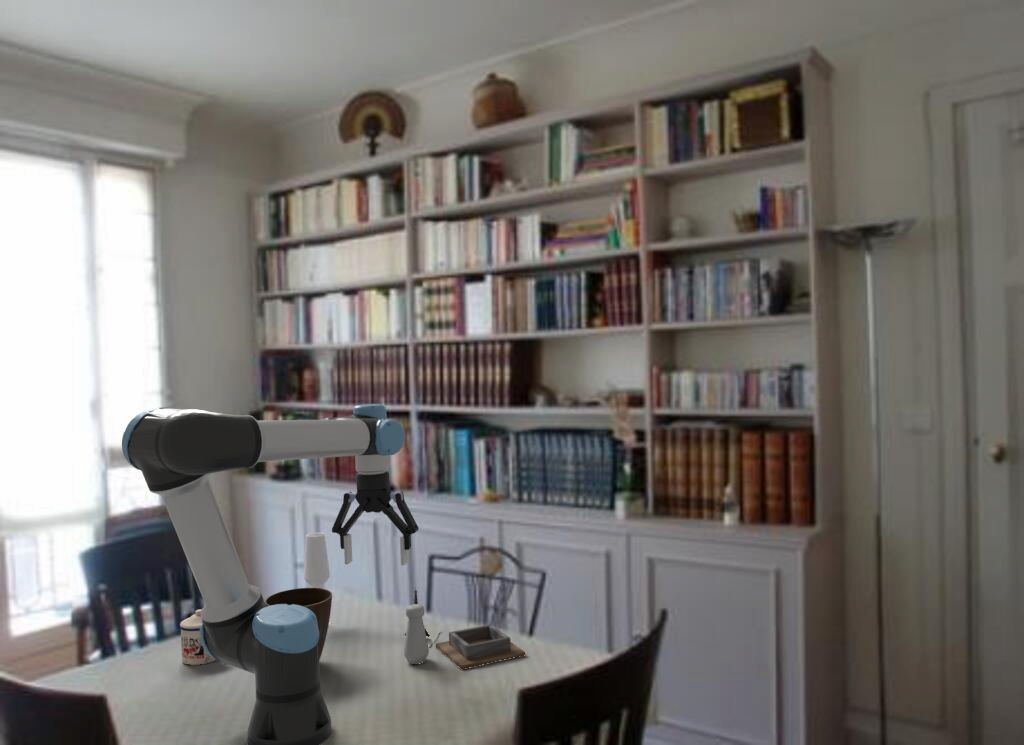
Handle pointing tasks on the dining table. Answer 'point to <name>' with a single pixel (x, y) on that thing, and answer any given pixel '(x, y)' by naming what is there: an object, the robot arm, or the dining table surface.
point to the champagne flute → (316, 561)
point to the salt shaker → (415, 635)
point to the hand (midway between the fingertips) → (376, 563)
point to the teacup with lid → (193, 641)
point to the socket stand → (478, 646)
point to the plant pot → (308, 606)
